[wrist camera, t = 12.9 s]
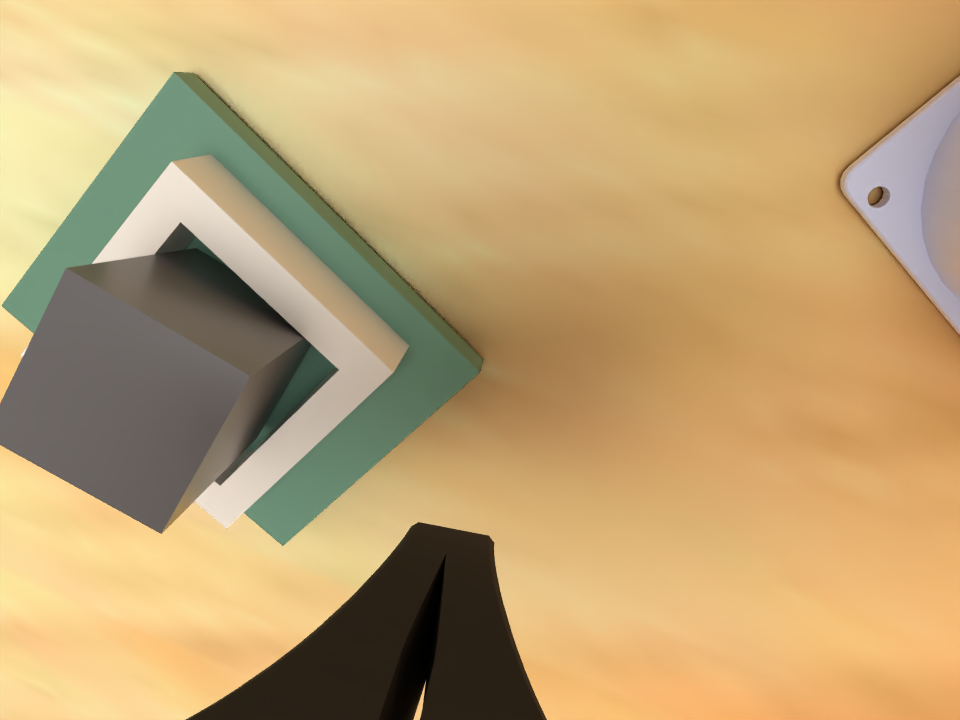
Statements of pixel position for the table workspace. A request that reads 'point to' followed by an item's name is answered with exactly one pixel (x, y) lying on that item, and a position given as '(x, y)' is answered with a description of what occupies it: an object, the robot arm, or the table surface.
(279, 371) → the plug
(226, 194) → the frame
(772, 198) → the table surface
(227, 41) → the table surface
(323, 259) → the board
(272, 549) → the table surface
